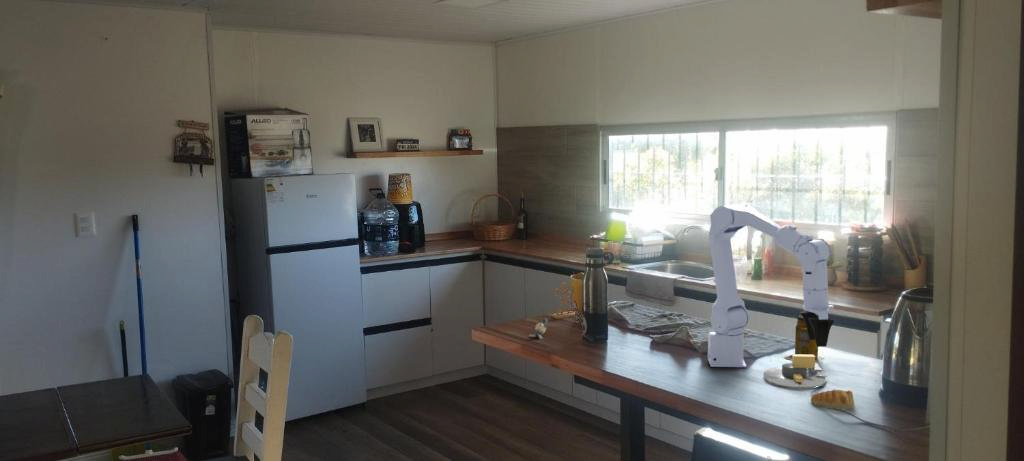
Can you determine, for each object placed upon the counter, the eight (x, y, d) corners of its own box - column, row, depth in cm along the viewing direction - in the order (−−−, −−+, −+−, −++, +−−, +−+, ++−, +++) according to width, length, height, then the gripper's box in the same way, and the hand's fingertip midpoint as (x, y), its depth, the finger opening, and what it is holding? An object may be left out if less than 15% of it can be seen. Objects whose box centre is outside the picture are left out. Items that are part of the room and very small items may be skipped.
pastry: (812, 409, 181) (812, 393, 180) (809, 399, 187) (809, 384, 187) (856, 412, 178) (856, 395, 178) (851, 402, 185) (851, 386, 184)
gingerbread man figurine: (573, 313, 279) (572, 280, 277) (579, 315, 275) (578, 282, 274) (551, 316, 275) (551, 283, 273) (557, 319, 271) (556, 285, 270)
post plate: (769, 388, 195) (769, 375, 194) (759, 369, 210) (759, 358, 209) (834, 389, 193) (835, 376, 192) (819, 371, 207) (820, 358, 207)
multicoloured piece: (787, 381, 195) (787, 362, 195) (779, 370, 204) (780, 351, 204) (819, 382, 194) (820, 362, 193) (810, 370, 203) (811, 352, 203)
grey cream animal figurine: (539, 333, 253) (540, 315, 252) (552, 337, 250) (553, 319, 249) (528, 336, 250) (529, 318, 248) (541, 340, 246) (542, 322, 245)
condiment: (824, 358, 218) (825, 316, 217) (805, 364, 214) (806, 321, 212) (802, 352, 224) (803, 312, 223) (783, 358, 220) (783, 316, 218)
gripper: (840, 292, 185) (842, 348, 186) (824, 283, 200) (827, 335, 201) (809, 293, 186) (811, 350, 187) (796, 284, 201) (798, 337, 202)
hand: (817, 342), depth 194 cm, fingers open, 7 cm apart
